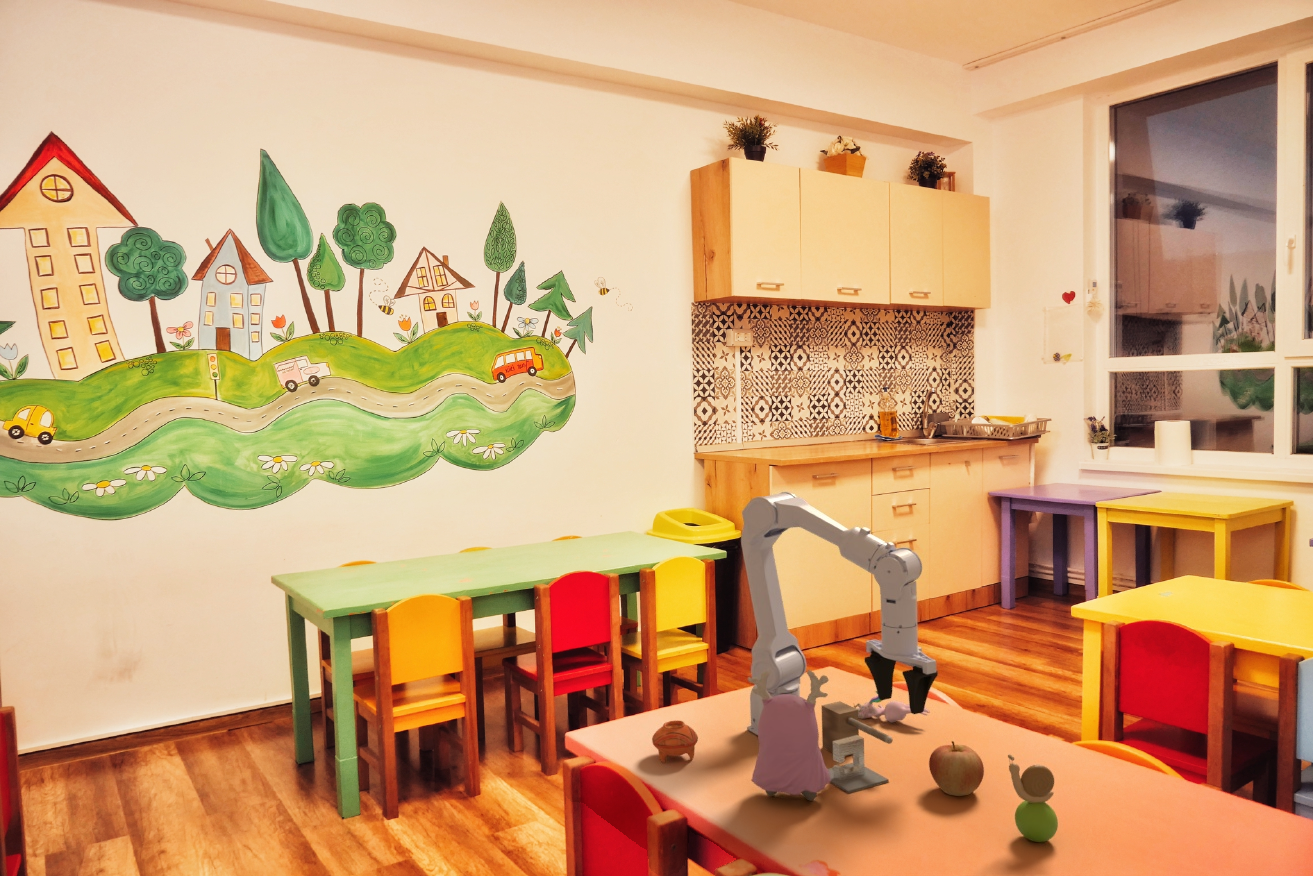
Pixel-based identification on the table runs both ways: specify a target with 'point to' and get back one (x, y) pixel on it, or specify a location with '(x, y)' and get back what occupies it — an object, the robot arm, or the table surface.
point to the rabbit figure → (885, 710)
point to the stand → (844, 725)
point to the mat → (858, 780)
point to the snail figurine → (1034, 802)
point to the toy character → (789, 742)
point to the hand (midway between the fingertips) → (900, 705)
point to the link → (845, 748)
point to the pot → (675, 740)
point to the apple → (956, 769)
